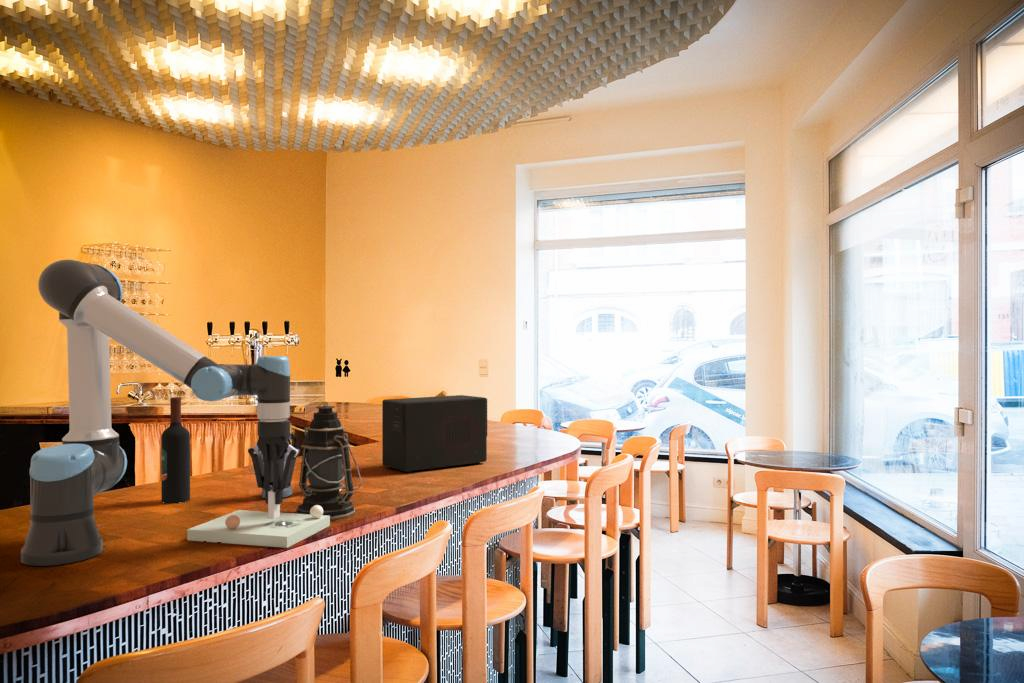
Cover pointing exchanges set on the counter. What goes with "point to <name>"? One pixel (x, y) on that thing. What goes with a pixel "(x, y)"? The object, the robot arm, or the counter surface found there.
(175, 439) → the wine bottle
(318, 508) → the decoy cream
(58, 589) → the counter surface
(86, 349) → the robot arm
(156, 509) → the counter surface
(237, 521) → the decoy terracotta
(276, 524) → the steel ball
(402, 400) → the black rectangular block
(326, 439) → the lantern
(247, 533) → the board
